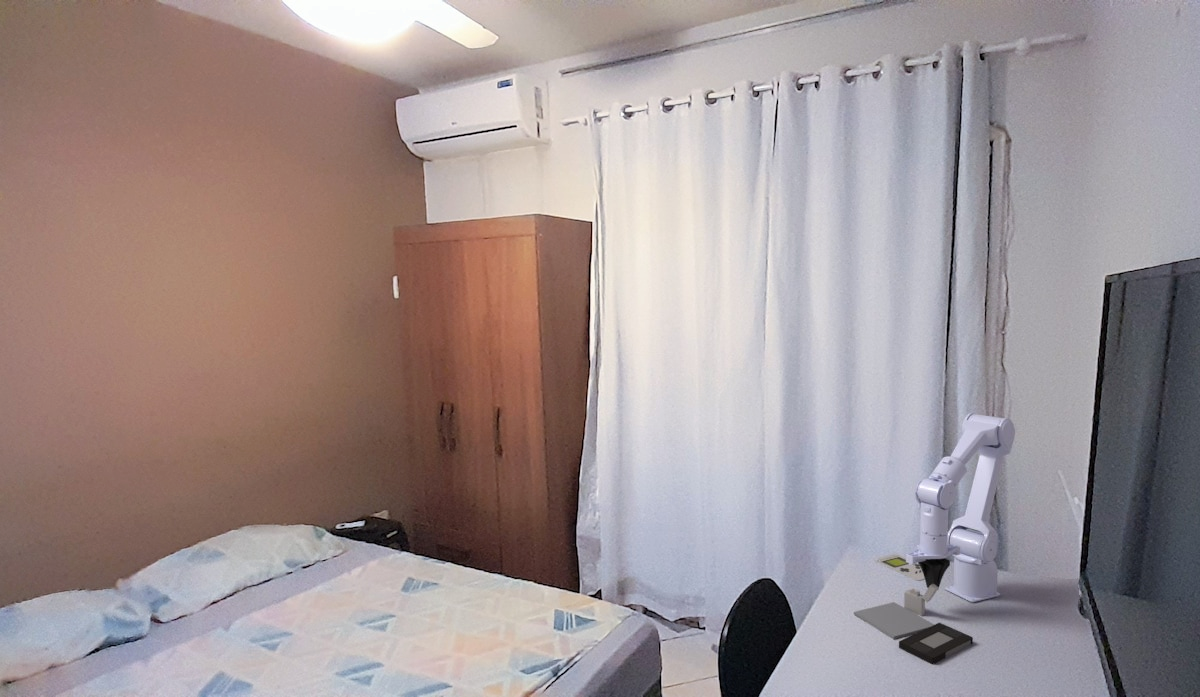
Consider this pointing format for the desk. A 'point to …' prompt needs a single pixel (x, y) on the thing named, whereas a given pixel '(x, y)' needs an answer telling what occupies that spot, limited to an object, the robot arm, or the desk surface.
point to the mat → (893, 620)
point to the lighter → (918, 599)
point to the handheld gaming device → (902, 566)
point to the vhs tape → (935, 643)
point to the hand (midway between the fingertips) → (932, 588)
